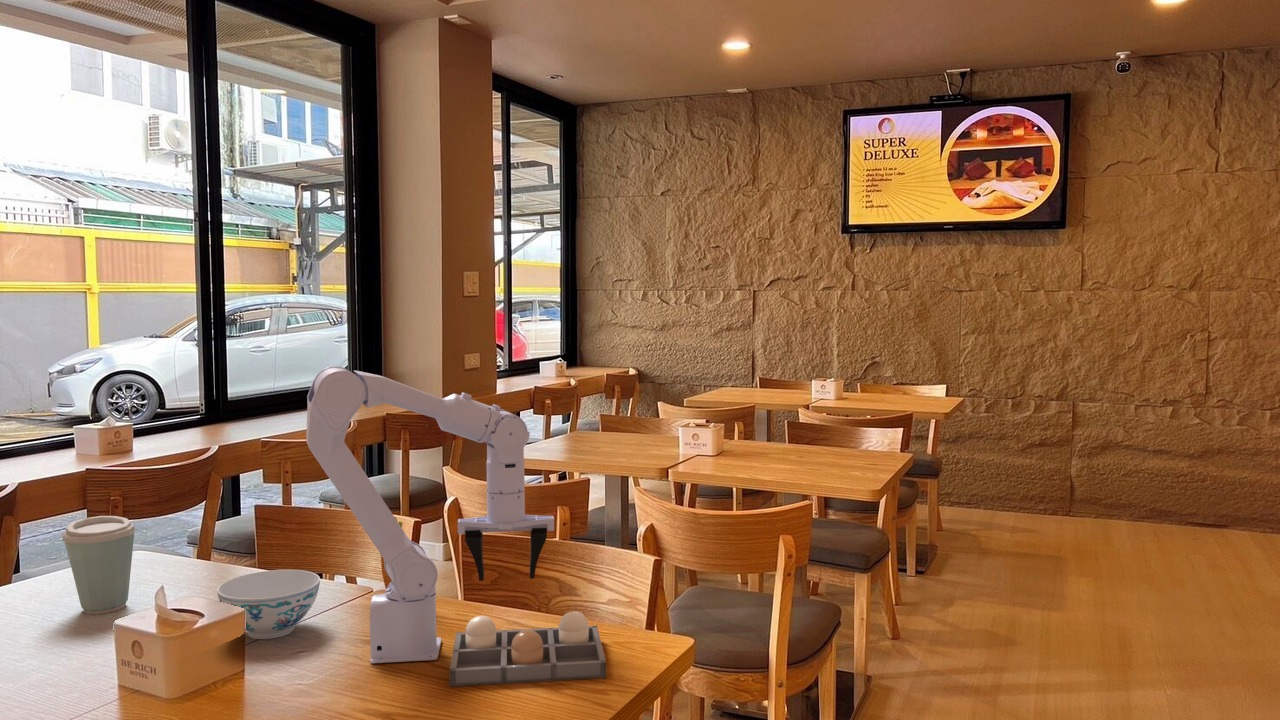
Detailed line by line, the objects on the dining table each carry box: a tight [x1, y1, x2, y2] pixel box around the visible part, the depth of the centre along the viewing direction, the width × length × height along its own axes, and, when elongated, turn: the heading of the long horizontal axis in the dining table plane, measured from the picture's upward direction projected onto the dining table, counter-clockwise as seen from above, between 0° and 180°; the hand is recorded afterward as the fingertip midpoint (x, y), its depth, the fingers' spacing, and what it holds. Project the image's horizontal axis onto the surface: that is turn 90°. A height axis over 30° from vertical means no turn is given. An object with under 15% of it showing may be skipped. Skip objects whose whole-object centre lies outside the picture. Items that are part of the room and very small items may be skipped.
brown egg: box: [512, 630, 543, 665], centre depth 130 cm, size 4×4×5 cm
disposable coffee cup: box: [61, 515, 137, 615], centre depth 156 cm, size 11×11×15 cm
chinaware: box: [216, 569, 321, 640], centre depth 146 cm, size 15×15×8 cm
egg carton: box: [449, 610, 607, 688], centre depth 133 cm, size 21×14×6 cm
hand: (506, 577), depth 142 cm, fingers open, 7 cm apart
